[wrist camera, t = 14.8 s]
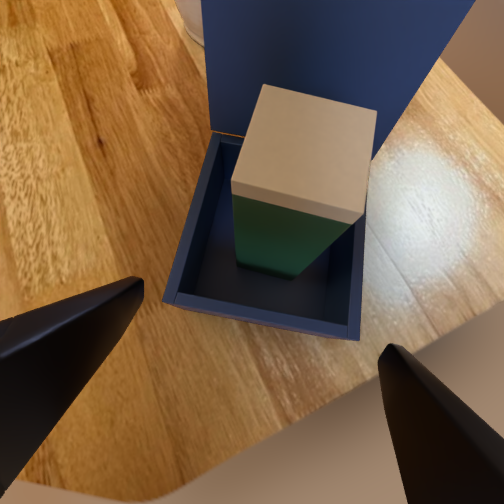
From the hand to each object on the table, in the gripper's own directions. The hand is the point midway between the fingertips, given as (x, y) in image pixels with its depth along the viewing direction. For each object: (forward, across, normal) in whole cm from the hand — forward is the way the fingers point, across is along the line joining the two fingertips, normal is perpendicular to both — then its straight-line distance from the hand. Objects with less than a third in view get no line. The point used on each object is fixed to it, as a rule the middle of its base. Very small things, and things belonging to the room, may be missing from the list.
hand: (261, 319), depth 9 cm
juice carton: (+13, 0, +3) cm, 14 cm away
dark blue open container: (+14, 0, +4) cm, 14 cm away
